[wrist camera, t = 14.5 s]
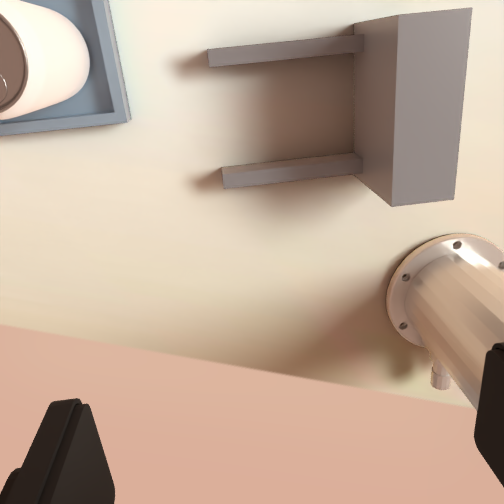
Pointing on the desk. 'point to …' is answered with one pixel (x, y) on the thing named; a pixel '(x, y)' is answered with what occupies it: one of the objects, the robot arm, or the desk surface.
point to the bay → (383, 106)
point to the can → (38, 58)
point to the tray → (98, 81)
